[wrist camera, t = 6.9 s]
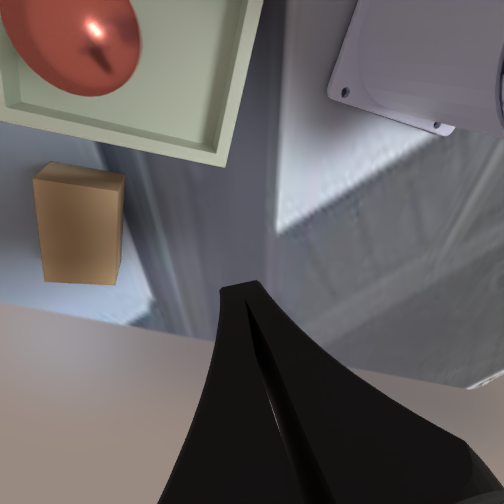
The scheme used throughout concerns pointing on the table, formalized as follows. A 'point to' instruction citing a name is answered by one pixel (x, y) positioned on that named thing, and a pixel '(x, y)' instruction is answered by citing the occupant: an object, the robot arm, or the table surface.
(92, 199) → the block
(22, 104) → the tray
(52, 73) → the pin
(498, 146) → the table surface
